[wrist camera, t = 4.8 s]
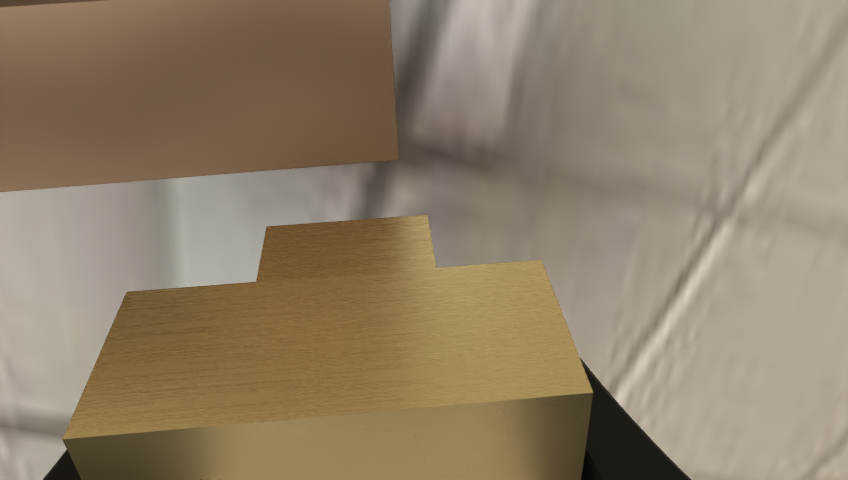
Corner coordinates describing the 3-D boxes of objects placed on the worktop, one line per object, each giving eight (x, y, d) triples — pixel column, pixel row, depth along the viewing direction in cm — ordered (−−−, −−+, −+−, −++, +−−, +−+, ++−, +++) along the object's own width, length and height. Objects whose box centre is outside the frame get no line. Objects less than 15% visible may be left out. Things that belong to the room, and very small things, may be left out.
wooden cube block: (491, 375, 16) (556, 655, 11) (237, 396, 15) (183, 694, 10) (497, 147, 13) (593, 393, 8) (179, 169, 12) (62, 439, 7)
